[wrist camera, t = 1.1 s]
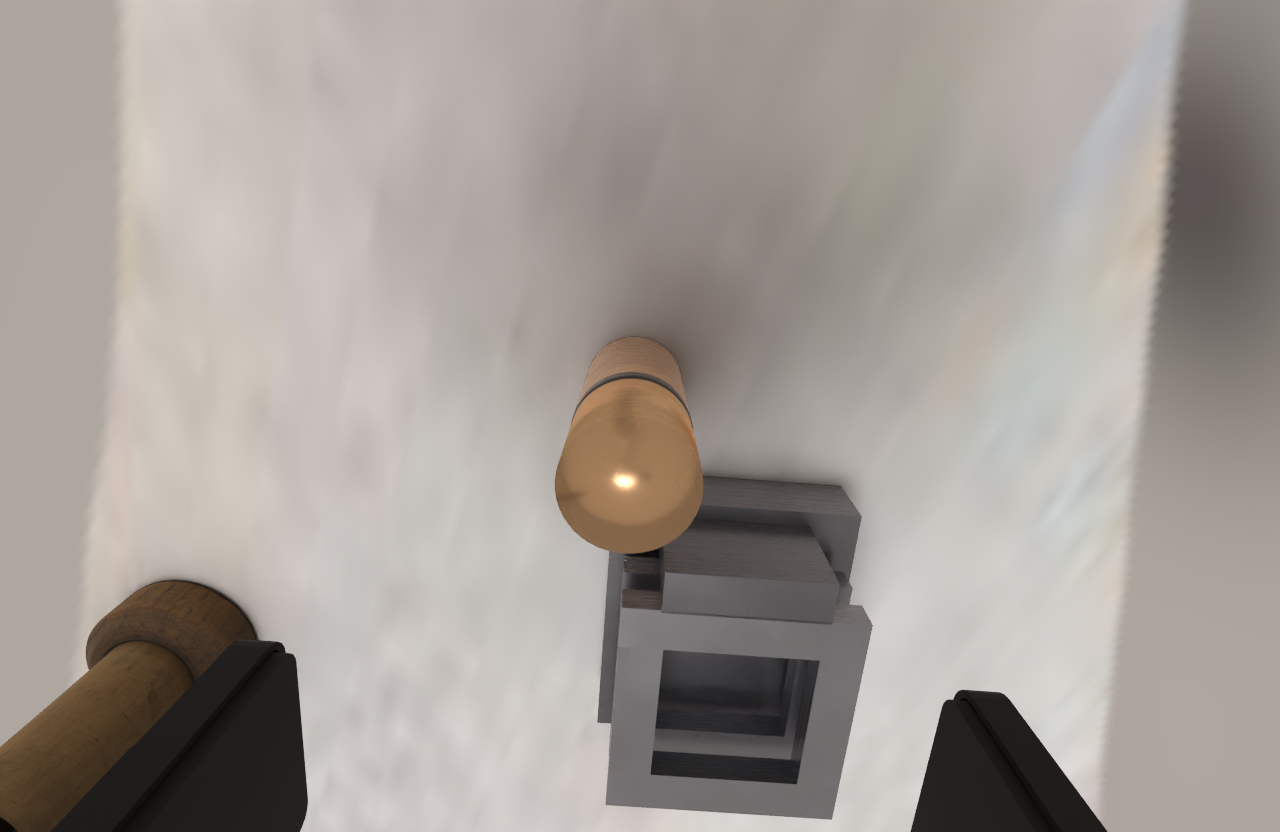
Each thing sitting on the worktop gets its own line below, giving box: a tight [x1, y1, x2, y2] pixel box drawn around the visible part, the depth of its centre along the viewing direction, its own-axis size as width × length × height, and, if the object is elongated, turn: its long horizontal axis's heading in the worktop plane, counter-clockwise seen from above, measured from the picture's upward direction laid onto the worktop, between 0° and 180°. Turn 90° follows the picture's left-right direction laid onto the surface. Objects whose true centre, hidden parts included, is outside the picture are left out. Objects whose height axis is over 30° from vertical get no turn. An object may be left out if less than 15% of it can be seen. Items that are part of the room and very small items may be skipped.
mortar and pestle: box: [0, 581, 256, 832], centre depth 24 cm, size 7×6×18 cm
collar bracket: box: [598, 476, 873, 819], centre depth 28 cm, size 11×10×7 cm
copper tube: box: [555, 337, 703, 553], centre depth 23 cm, size 4×4×11 cm
